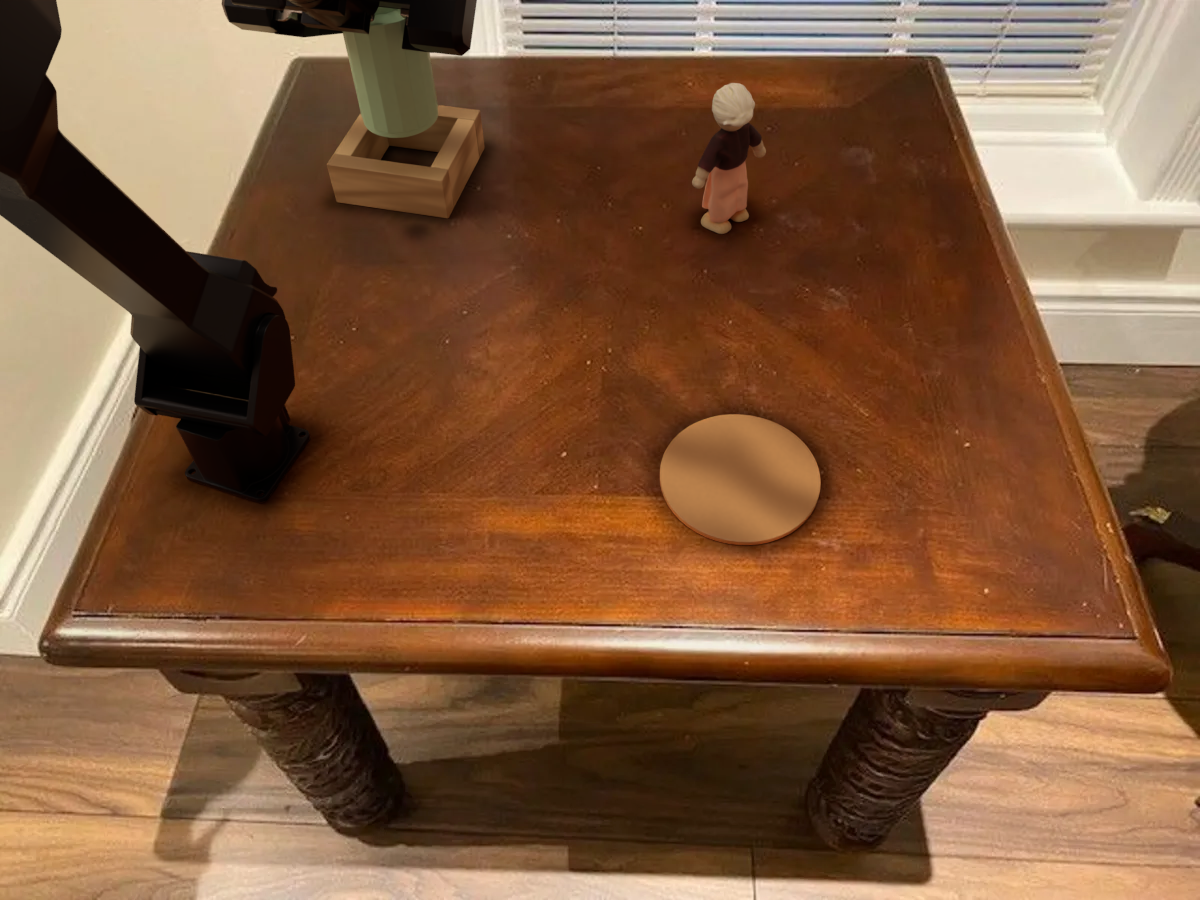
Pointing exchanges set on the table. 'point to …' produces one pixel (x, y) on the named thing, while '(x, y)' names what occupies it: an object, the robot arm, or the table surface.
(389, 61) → the bottle
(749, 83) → the table surface
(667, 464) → the mat
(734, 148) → the grandmother figurine
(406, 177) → the holder
